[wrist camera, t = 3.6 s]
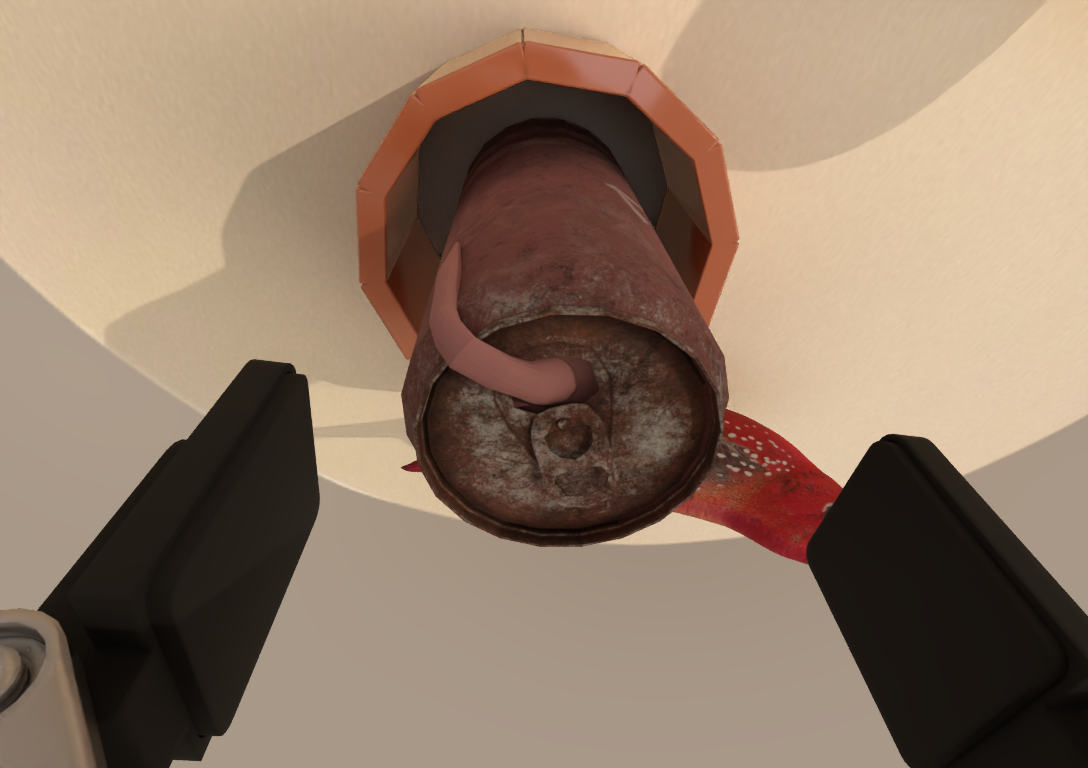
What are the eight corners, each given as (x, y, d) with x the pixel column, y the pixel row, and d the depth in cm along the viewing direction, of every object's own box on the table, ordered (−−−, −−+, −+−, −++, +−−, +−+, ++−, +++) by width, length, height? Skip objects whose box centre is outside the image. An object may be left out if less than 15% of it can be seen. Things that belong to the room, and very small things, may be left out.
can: (524, 69, 19) (526, 193, 7) (657, 190, 21) (818, 427, 10) (426, 211, 21) (312, 469, 10) (554, 304, 24) (584, 598, 12)
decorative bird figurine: (787, 415, 28) (899, 594, 19) (426, 399, 26) (382, 583, 18) (808, 367, 26) (939, 540, 18) (423, 347, 25) (374, 523, 16)
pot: (395, 309, 24) (362, 393, 19) (397, 4, 17) (348, 8, 13) (643, 339, 25) (672, 425, 20) (724, 64, 19) (797, 89, 14)
